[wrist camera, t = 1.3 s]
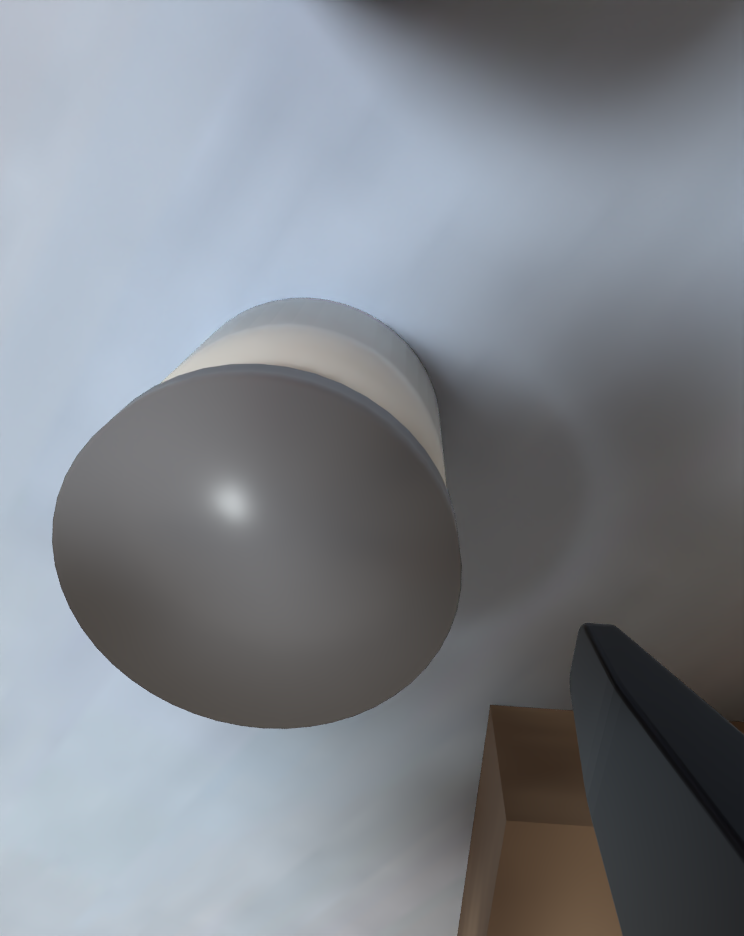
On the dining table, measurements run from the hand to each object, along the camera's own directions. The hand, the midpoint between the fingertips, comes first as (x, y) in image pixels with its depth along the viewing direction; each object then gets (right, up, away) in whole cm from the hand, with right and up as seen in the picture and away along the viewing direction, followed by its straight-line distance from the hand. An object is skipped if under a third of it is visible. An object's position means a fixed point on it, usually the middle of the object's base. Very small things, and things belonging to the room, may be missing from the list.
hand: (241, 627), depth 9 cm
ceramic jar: (0, +3, +7) cm, 7 cm away
